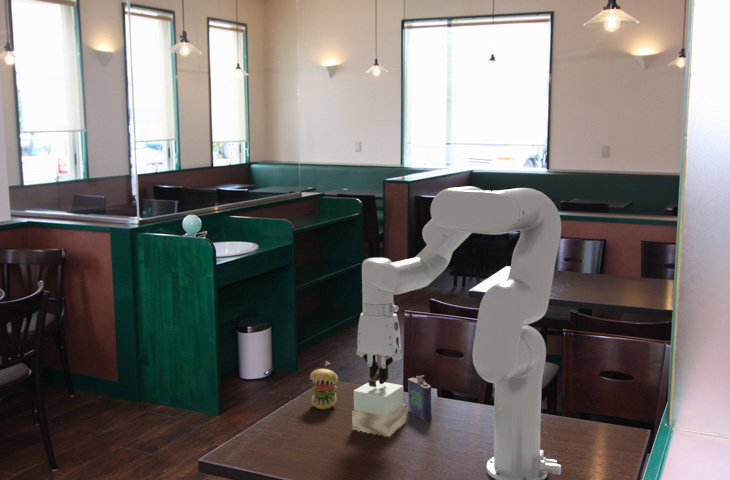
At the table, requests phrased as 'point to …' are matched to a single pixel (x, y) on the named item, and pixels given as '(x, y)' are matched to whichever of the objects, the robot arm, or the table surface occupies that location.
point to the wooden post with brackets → (374, 379)
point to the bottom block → (379, 422)
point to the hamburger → (324, 388)
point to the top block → (378, 398)
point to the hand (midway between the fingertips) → (379, 381)
